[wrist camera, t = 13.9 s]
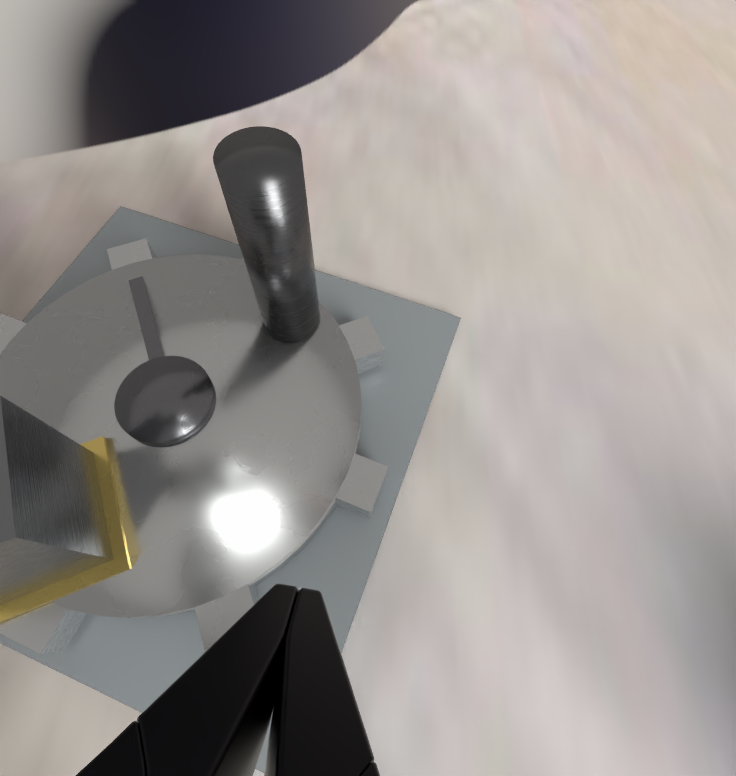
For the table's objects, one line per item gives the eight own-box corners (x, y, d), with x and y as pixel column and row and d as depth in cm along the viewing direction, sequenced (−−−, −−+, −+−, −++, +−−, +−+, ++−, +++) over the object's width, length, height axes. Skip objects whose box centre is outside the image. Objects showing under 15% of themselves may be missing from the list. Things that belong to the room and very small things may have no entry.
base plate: (294, 781, 15) (292, 788, 15) (-165, 556, 18) (-182, 555, 17) (458, 323, 23) (461, 316, 22) (124, 213, 26) (120, 204, 25)
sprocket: (466, 533, 18) (569, 460, 9) (-34, 763, 14) (-596, 979, 6) (308, 216, 25) (284, 5, 16) (-57, 320, 21) (-331, 125, 13)
